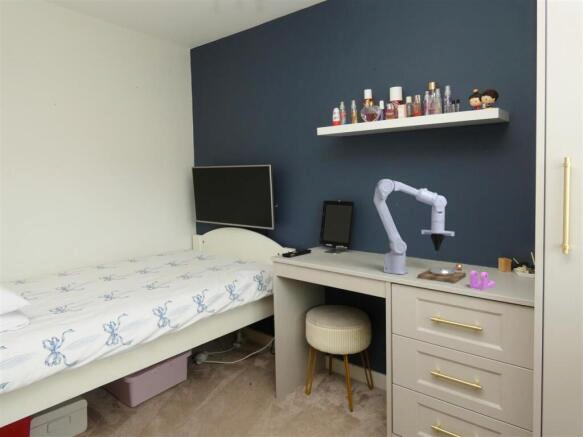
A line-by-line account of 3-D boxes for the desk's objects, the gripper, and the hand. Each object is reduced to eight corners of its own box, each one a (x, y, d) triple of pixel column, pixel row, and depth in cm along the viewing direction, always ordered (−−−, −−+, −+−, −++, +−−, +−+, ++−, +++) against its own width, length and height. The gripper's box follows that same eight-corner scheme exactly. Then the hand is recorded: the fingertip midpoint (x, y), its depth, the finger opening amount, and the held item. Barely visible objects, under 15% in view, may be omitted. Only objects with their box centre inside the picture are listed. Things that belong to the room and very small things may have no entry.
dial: (431, 275, 186) (432, 266, 185) (428, 270, 196) (429, 261, 195) (464, 276, 183) (464, 267, 183) (459, 271, 193) (459, 262, 193)
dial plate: (417, 278, 188) (417, 274, 188) (430, 271, 201) (430, 268, 201) (455, 283, 179) (455, 279, 179) (466, 276, 192) (466, 272, 192)
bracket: (483, 290, 167) (484, 273, 167) (469, 288, 171) (470, 271, 171) (497, 285, 176) (498, 268, 175) (484, 282, 180) (484, 266, 179)
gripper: (456, 221, 196) (455, 250, 197) (425, 219, 205) (424, 248, 206) (452, 222, 190) (451, 252, 192) (420, 221, 199) (419, 249, 200)
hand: (437, 250), depth 198 cm, fingers closed
